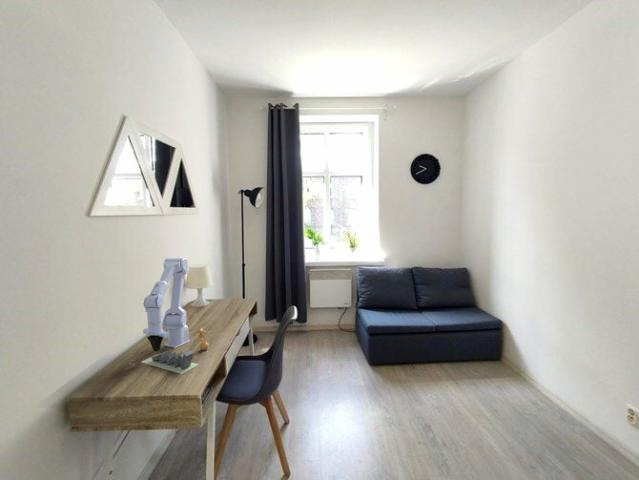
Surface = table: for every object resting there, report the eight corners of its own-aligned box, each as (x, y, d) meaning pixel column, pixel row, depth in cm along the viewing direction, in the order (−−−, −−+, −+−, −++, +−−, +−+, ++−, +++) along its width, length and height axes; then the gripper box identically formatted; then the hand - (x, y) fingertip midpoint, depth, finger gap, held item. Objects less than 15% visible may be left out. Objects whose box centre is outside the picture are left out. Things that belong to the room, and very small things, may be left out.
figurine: (214, 348, 152) (213, 324, 151) (208, 353, 146) (207, 329, 145) (198, 347, 153) (197, 324, 152) (192, 353, 147) (190, 328, 146)
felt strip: (158, 354, 146) (158, 353, 146) (198, 364, 135) (198, 364, 135) (140, 362, 138) (140, 361, 138) (181, 374, 127) (181, 373, 127)
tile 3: (165, 361, 135) (174, 355, 132) (173, 358, 138) (182, 352, 135) (167, 365, 134) (176, 359, 132) (175, 361, 138) (183, 355, 135)
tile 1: (151, 357, 139) (161, 354, 136) (159, 354, 142) (168, 350, 139) (152, 361, 139) (162, 357, 136) (160, 357, 142) (169, 354, 139)
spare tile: (158, 359, 137) (167, 355, 134) (166, 356, 140) (175, 351, 137) (160, 363, 136) (169, 359, 134) (167, 359, 140) (176, 355, 137)
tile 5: (180, 367, 131) (183, 353, 129) (187, 363, 135) (190, 350, 133) (182, 369, 130) (186, 356, 129) (190, 365, 134) (193, 352, 132)
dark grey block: (172, 364, 133) (179, 354, 130) (180, 360, 136) (187, 351, 134) (175, 367, 132) (182, 358, 130) (182, 363, 136) (189, 354, 133)
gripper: (136, 322, 138) (137, 351, 139) (157, 326, 132) (159, 357, 133) (150, 317, 145) (152, 345, 146) (172, 321, 138) (173, 350, 139)
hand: (156, 350), depth 140 cm, fingers closed
